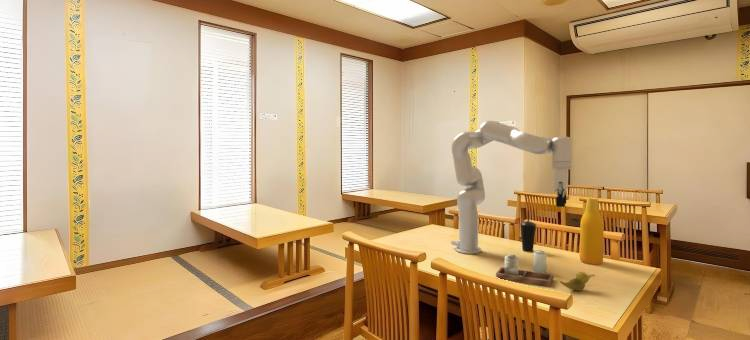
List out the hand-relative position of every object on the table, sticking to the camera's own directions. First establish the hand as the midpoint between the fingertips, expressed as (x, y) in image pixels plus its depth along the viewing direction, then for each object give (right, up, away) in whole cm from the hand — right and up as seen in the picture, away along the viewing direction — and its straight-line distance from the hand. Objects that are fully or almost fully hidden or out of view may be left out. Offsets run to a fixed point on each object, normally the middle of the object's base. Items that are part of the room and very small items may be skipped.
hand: (561, 204), depth 168 cm
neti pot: (-6, -29, -25) cm, 39 cm away
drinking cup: (-4, -26, +27) cm, 37 cm away
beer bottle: (+17, -27, +7) cm, 32 cm away
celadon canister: (-11, -28, -5) cm, 30 cm away
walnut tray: (-21, -28, -13) cm, 38 cm away
